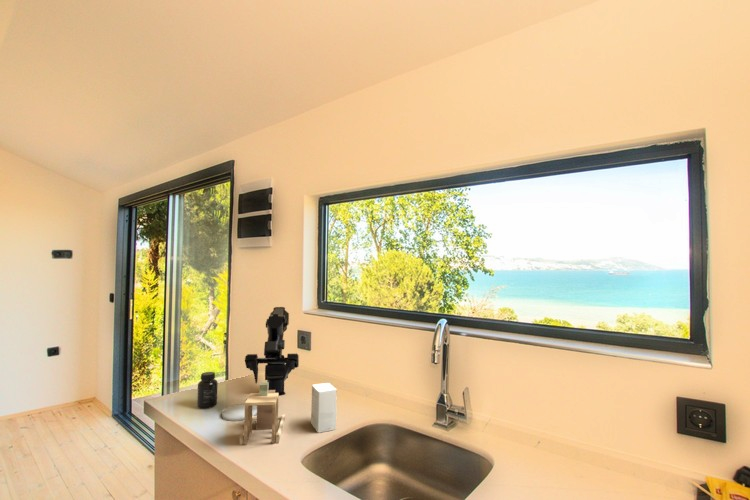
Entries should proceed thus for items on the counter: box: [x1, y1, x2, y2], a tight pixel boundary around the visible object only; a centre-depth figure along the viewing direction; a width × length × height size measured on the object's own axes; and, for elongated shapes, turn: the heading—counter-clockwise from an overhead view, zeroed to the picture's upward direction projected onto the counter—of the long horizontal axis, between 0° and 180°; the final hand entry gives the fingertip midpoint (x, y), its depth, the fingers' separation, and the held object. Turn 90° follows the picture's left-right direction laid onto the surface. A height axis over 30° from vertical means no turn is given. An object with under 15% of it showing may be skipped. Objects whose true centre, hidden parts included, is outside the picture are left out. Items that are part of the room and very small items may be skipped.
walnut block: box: [256, 390, 275, 431], centre depth 122 cm, size 5×5×11 cm
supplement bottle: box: [196, 371, 219, 410], centre depth 138 cm, size 7×7×12 cm
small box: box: [310, 382, 338, 434], centre depth 123 cm, size 8×6×13 cm
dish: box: [221, 403, 257, 422], centre depth 131 cm, size 12×12×1 cm
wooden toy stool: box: [243, 381, 280, 445], centre depth 114 cm, size 8×9×16 cm
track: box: [239, 414, 286, 446], centre depth 119 cm, size 18×11×2 cm, turn 8°
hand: (269, 382), depth 129 cm, fingers open, 9 cm apart
